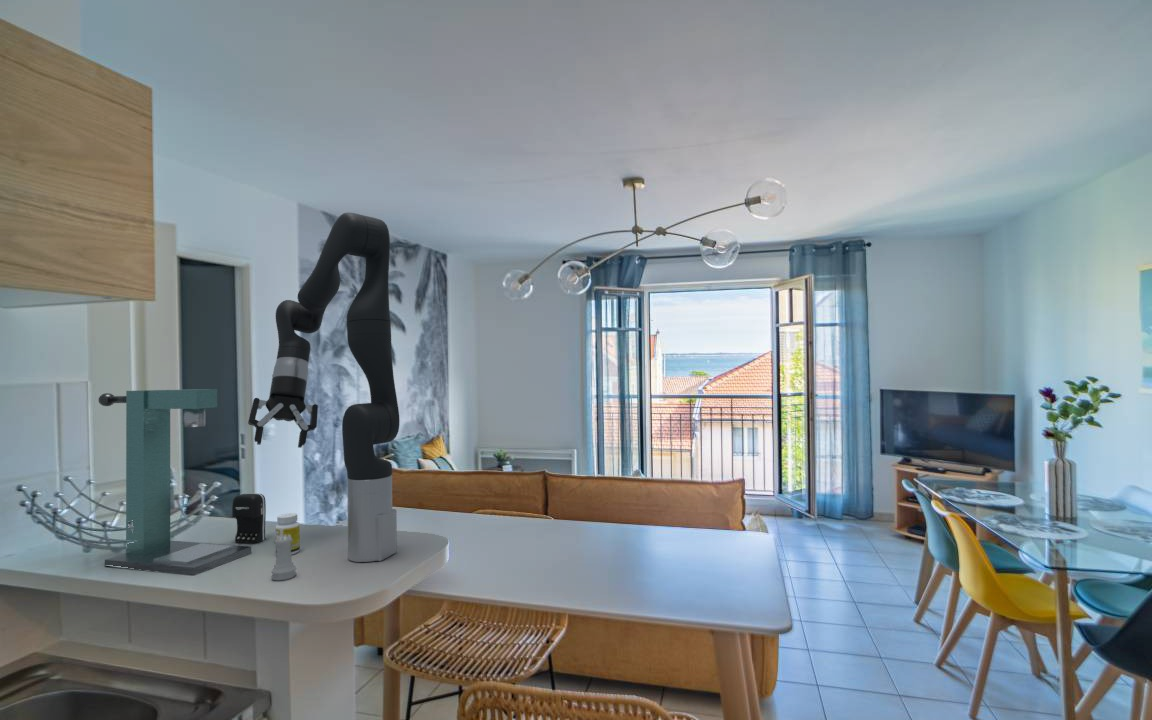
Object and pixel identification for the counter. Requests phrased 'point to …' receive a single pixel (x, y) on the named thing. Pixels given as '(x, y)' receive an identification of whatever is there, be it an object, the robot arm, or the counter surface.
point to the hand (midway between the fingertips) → (279, 445)
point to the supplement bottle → (289, 530)
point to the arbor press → (161, 483)
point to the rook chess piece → (283, 560)
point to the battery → (249, 517)
